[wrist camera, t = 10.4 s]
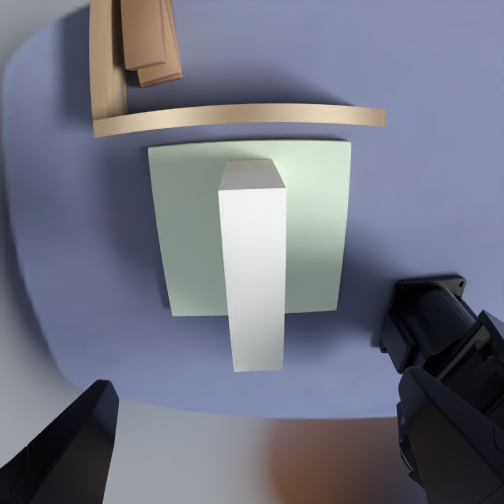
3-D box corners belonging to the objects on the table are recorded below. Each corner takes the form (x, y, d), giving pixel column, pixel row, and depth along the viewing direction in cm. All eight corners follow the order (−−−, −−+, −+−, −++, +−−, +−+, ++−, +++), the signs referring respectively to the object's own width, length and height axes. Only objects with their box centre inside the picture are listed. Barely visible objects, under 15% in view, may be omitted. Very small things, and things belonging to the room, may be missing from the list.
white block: (272, 159, 17) (286, 188, 11) (273, 301, 21) (282, 369, 15) (227, 161, 17) (218, 190, 11) (236, 303, 21) (233, 371, 15)
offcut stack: (167, -44, 12) (156, -65, 9) (185, 78, 15) (174, 73, 13) (128, -33, 12) (110, -51, 9) (144, 88, 15) (126, 86, 13)
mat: (347, 140, 17) (351, 142, 16) (334, 305, 22) (336, 310, 21) (150, 146, 17) (147, 148, 16) (173, 310, 22) (172, 316, 21)
